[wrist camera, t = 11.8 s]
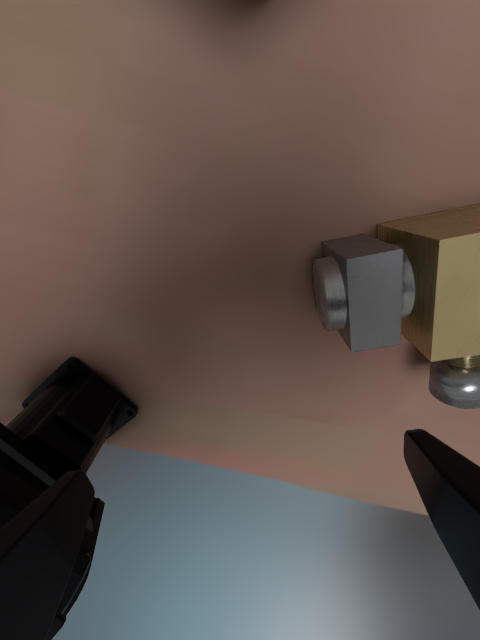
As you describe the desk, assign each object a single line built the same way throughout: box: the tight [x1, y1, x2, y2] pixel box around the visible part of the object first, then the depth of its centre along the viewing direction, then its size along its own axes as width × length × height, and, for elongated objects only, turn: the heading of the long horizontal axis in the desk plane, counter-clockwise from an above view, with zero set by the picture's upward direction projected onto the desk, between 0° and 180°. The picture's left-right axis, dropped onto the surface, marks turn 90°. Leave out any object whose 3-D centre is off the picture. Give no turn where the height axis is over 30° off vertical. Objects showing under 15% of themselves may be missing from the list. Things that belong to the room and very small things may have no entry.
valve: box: [313, 204, 480, 369], centre depth 15 cm, size 15×8×6 cm, turn 101°
